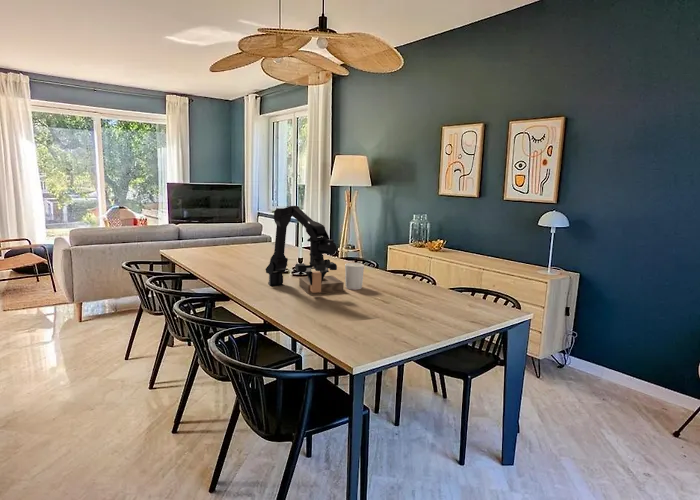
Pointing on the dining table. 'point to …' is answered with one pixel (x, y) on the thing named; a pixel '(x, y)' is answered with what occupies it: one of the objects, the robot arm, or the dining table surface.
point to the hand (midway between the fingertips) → (315, 284)
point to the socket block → (323, 285)
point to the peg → (316, 282)
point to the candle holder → (354, 275)
